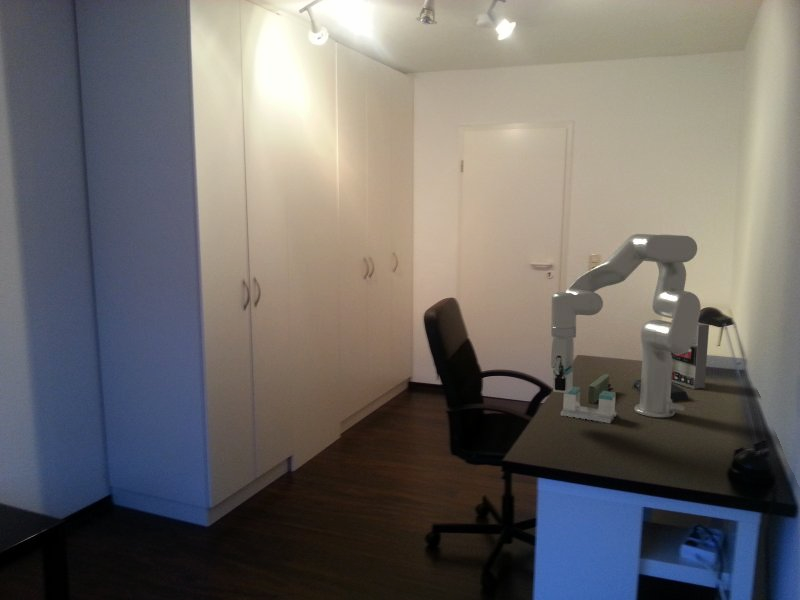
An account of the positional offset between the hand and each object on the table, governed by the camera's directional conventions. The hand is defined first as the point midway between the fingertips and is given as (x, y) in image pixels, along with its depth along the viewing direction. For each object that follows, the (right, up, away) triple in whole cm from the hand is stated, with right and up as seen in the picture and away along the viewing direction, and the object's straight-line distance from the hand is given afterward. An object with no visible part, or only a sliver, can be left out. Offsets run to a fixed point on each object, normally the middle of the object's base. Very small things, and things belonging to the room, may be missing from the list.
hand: (563, 386), depth 204 cm
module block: (0, -1, 0) cm, 1 cm away
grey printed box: (+61, -6, +50) cm, 79 cm away
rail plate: (+11, -11, +10) cm, 18 cm away
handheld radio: (+23, -8, +34) cm, 42 cm away
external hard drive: (+46, -8, +37) cm, 59 cm away
